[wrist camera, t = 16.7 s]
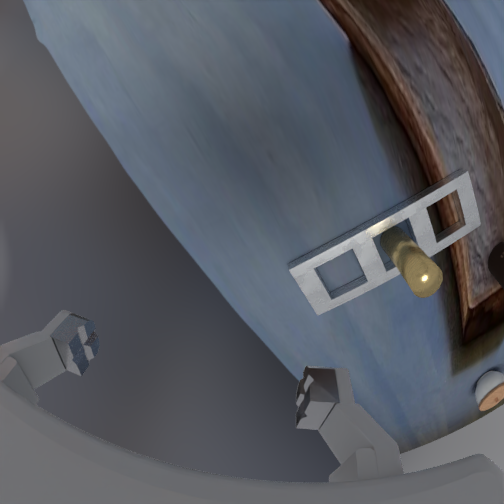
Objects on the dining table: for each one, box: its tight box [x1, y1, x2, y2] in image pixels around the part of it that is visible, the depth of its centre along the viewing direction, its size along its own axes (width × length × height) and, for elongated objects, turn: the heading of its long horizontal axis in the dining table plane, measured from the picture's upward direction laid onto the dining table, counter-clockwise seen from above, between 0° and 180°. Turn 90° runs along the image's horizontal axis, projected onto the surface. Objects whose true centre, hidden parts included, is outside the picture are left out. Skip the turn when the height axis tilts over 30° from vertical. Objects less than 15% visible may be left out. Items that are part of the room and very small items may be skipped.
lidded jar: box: [475, 371, 504, 411], centre depth 44 cm, size 11×11×9 cm
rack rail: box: [289, 169, 481, 315], centre depth 36 cm, size 30×9×2 cm, turn 123°
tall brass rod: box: [380, 227, 443, 298], centre depth 31 cm, size 4×4×12 cm
